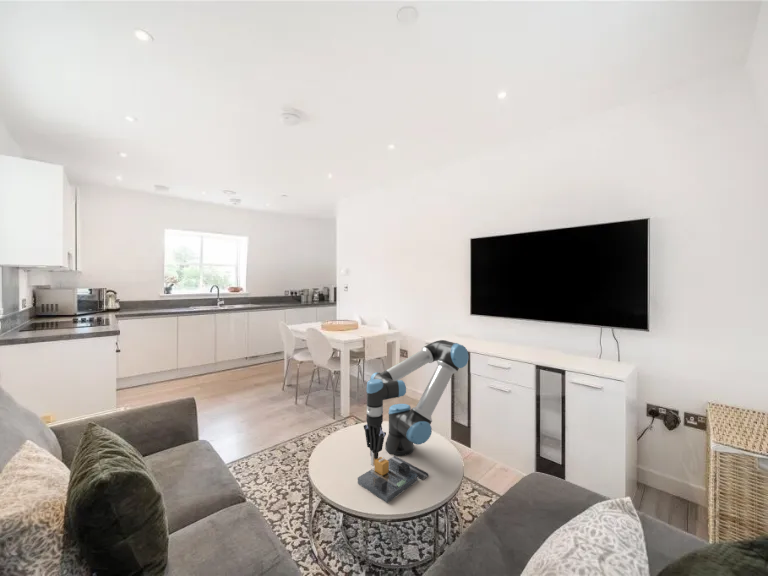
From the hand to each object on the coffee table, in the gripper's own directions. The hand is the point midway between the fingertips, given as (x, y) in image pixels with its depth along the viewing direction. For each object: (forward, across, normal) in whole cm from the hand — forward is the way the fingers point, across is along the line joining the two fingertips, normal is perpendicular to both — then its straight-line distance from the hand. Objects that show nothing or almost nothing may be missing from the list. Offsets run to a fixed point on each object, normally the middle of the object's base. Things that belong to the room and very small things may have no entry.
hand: (374, 464), depth 147 cm
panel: (+4, +9, 0) cm, 10 cm away
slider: (+2, +5, 0) cm, 5 cm away
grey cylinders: (+4, +8, +14) cm, 17 cm away
